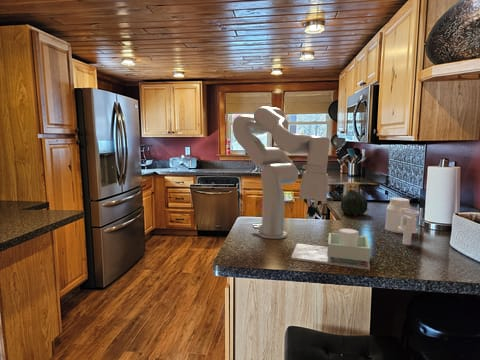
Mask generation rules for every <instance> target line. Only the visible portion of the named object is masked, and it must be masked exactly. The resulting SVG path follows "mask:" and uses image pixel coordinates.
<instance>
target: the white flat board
mask: <svg viewBox="0 0 480 360" xmlns="http://www.w3.org/2000/svg"><path fill="white" fill-rule="evenodd" d="M293 249H294V250H293V252H292V254H291V257H290V260H291V261H298V262H299V261H300V262H301V261H302V262H306V263H307V262H308V263H315V264H323V265H331V266H337V267H338V266H339V267H346V268H347V267H348V268H354V269H361V270H369V271H370V270H371V265H370V262H368V261H365V263H362V261H360V260H352V259H344V258H336V257H334V259H331V257H328V256H327V250H328V246H323V245H315V244H307V243H297V242H296V245H295V248H293Z"/></svg>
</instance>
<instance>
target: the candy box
mask: <svg viewBox="0 0 480 360" xmlns="http://www.w3.org/2000/svg"><path fill="white" fill-rule="evenodd" d="M349 190H354V191H356V192H358V193H360V182H356V181H355V182H353V181H351V182H349V181H348V182H345V181H344V182H343V191H342V192H343V194H342V195H343V196H342V198H343V197H344V196H345V195H346V193H347V192H348V191H349Z"/></svg>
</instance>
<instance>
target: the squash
mask: <svg viewBox="0 0 480 360" xmlns="http://www.w3.org/2000/svg"><path fill="white" fill-rule="evenodd" d="M367 200H368V199H366V197H365V196H364V195H363V194H362V193H360V192H359V193H358V192H356V191H354V190H349V191H348V192H347V193H346V195H345V196H344V197H343V196H342V198H341V202H340V210H341V211H342V212H343V213H344V214H345V215H349V216H356V217H357V216H359V215H364V214H365V213H366V212H367V210H368V201H367Z"/></svg>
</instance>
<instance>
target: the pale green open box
mask: <svg viewBox="0 0 480 360" xmlns="http://www.w3.org/2000/svg"><path fill="white" fill-rule="evenodd" d="M368 238H369V237H368V236H364V235H358V241H357V246H349V245H340V244H339V233H332V232H329V233H328V238H327V240H328V241H327V247H328V250H327V256H328V257H331V259H334V257H336V258H344V259H352V260H360V261H362V263H365V261H368V262H369V263H370V258H371V246H370V242H369V239H368Z"/></svg>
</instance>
